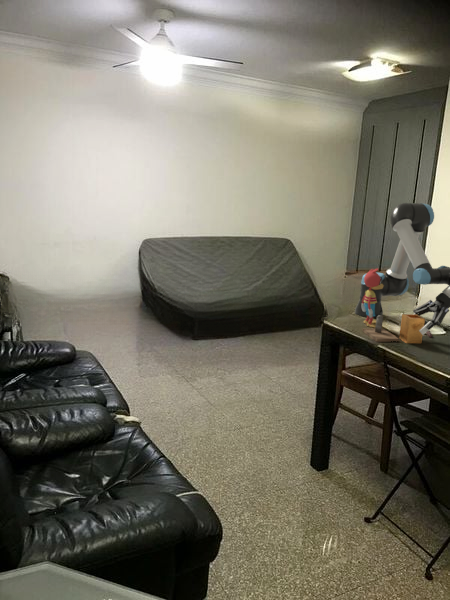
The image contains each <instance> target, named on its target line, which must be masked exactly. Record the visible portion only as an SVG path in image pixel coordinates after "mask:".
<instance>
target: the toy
mask: <svg viewBox="0 0 450 600" xmlns="http://www.w3.org/2000/svg"><path fill="white" fill-rule="evenodd" d="M377 271H379V268H375V269H374V268H371V269H369V271H368V272H366V273H367V274H366V273H365V274H366V275H365V277H364V282H365V284H366V286H368V287H369V290H367V291H366V292H365V295H364V297H363V299H362V305H361V307H362V311H363V312H366V314H367V317H365V318H366V319H365V320H363V323H364V324H365V325H366V326H367V327H369V328H373V329H375V327H376V319H375V317H374V316H375V303H377V300H376V296H375V293H374V292H373V291H372V290H371V289H374V290H378V289H382V288H383V286H384V285H383V284H381V283H382V281H381V280H382V277H381V279H380V276H379V275H378V274H377V273H376V272H377ZM364 302H365V303H364Z"/></svg>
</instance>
